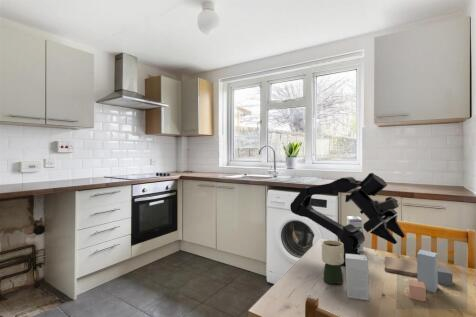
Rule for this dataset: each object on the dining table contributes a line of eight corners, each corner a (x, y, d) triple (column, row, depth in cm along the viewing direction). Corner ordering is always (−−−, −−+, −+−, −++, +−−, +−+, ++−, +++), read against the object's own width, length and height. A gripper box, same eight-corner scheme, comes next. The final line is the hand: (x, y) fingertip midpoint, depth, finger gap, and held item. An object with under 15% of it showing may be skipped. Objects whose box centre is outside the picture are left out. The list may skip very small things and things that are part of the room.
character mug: (353, 287, 82) (352, 247, 82) (333, 290, 81) (333, 249, 81) (332, 273, 93) (332, 237, 93) (315, 275, 91) (314, 239, 91)
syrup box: (363, 251, 113) (363, 219, 113) (349, 251, 114) (349, 218, 114) (360, 247, 118) (359, 216, 118) (346, 246, 119) (346, 215, 119)
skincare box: (367, 293, 78) (366, 255, 78) (369, 301, 74) (368, 260, 74) (345, 290, 80) (345, 253, 80) (346, 297, 76) (346, 258, 76)
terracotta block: (409, 298, 76) (408, 285, 76) (408, 292, 79) (408, 279, 79) (425, 302, 74) (425, 288, 74) (424, 295, 77) (423, 282, 77)
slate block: (417, 287, 82) (416, 253, 82) (420, 282, 85) (420, 249, 85) (435, 292, 78) (434, 257, 78) (437, 287, 81) (437, 253, 81)
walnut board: (384, 270, 94) (384, 267, 94) (385, 259, 104) (385, 256, 104) (425, 278, 88) (425, 274, 88) (421, 265, 98) (421, 262, 98)
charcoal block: (437, 283, 84) (436, 271, 84) (435, 278, 88) (434, 266, 88) (452, 286, 82) (452, 273, 82) (450, 280, 86) (449, 269, 86)
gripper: (372, 192, 84) (412, 232, 76) (390, 187, 97) (426, 221, 89) (349, 213, 90) (384, 252, 82) (369, 205, 103) (400, 238, 95)
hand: (400, 240), depth 87 cm, fingers open, 9 cm apart
